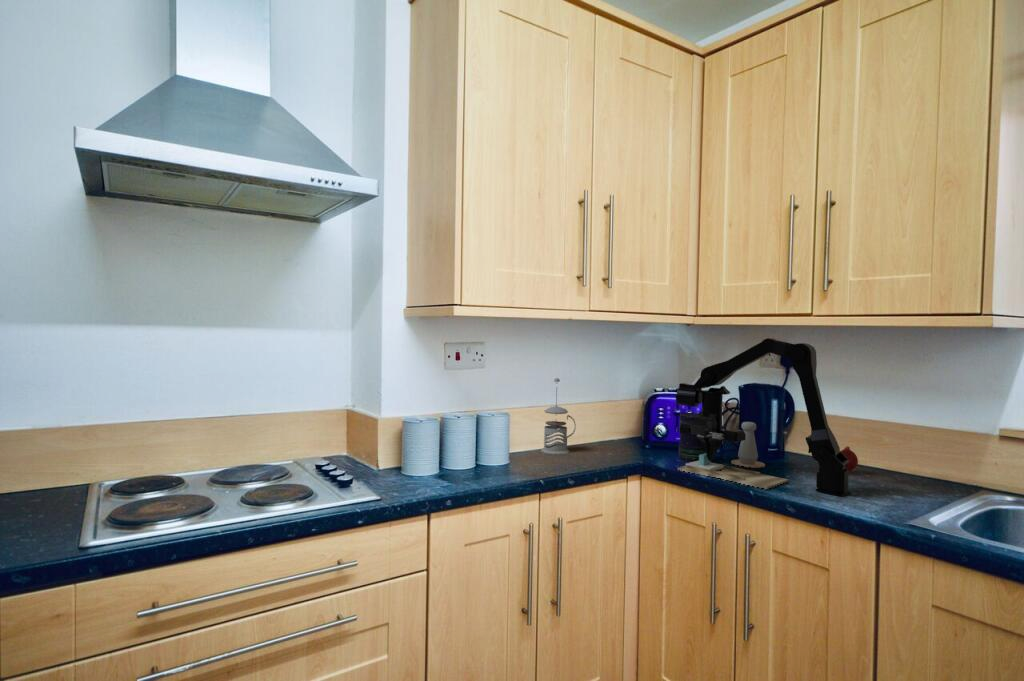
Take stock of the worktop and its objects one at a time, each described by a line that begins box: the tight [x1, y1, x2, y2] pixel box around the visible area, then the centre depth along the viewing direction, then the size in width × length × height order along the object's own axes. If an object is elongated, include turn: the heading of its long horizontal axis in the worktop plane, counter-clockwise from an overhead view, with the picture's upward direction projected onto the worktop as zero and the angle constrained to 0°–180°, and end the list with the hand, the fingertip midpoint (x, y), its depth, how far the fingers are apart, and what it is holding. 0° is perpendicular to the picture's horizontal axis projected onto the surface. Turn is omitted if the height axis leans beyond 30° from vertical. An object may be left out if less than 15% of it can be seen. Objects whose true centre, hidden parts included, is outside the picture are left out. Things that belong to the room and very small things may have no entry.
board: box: [677, 464, 789, 490], centre depth 168 cm, size 27×13×2 cm, turn 42°
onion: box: [840, 445, 859, 473], centre depth 175 cm, size 6×6×8 cm
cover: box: [685, 453, 724, 471], centre depth 174 cm, size 8×8×4 cm
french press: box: [540, 377, 577, 455], centre depth 198 cm, size 10×12×25 cm
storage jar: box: [678, 412, 706, 464], centre depth 187 cm, size 10×10×15 cm
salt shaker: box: [737, 421, 759, 465], centre depth 184 cm, size 6×6×13 cm
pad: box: [730, 459, 766, 469], centre depth 184 cm, size 10×10×1 cm
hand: (710, 460), depth 172 cm, fingers closed
